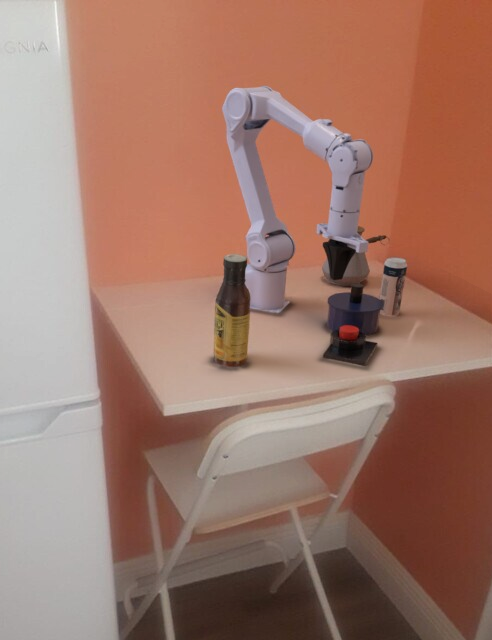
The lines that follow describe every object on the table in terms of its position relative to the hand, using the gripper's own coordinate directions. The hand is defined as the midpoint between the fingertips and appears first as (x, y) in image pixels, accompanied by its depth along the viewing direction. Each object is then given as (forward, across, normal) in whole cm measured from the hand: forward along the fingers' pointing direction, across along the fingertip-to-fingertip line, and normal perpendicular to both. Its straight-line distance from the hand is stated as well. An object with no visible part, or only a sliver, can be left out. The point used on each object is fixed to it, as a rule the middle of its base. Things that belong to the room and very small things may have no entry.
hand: (336, 278), depth 140 cm
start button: (+8, +11, -4) cm, 14 cm away
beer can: (+10, -2, +16) cm, 19 cm away
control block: (+10, +13, -4) cm, 17 cm away
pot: (+10, +2, +4) cm, 11 cm away
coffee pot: (+11, -19, +20) cm, 29 cm away
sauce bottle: (+10, +8, -27) cm, 30 cm away
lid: (+5, +2, +4) cm, 7 cm away
